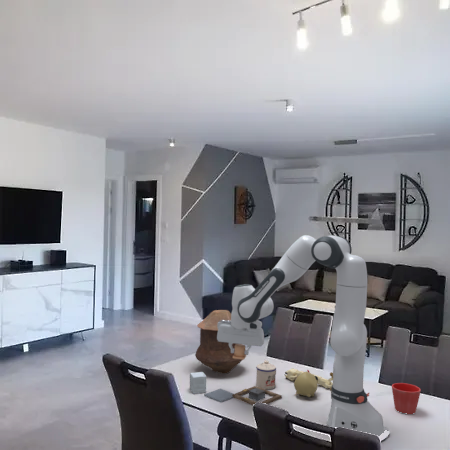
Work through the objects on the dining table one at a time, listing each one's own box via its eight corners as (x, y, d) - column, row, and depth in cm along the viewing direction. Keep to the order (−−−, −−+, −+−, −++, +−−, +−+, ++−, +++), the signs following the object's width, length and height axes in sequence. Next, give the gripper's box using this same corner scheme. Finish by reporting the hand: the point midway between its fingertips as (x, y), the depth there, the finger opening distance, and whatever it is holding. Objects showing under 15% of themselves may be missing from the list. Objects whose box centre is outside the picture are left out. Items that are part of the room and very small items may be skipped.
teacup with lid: (267, 391, 208) (268, 365, 207) (251, 386, 214) (252, 360, 213) (283, 384, 217) (284, 359, 216) (267, 379, 223) (268, 355, 222)
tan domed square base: (244, 359, 198) (244, 348, 198) (232, 358, 199) (233, 346, 199) (246, 355, 203) (247, 344, 203) (235, 354, 204) (236, 343, 204)
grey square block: (265, 397, 200) (265, 390, 200) (257, 401, 197) (258, 393, 196) (256, 394, 204) (256, 387, 204) (248, 397, 200) (248, 390, 200)
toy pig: (321, 393, 207) (322, 369, 207) (312, 402, 197) (313, 377, 196) (300, 389, 212) (301, 365, 212) (290, 397, 202) (291, 372, 201)
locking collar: (281, 398, 200) (281, 394, 200) (259, 407, 189) (259, 404, 189) (254, 388, 211) (254, 385, 211) (232, 397, 200) (232, 393, 200)
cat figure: (338, 389, 216) (289, 373, 231) (340, 371, 216) (291, 356, 230) (329, 396, 208) (280, 379, 222) (331, 376, 208) (281, 361, 222)
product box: (202, 387, 210) (203, 371, 210) (206, 392, 204) (206, 376, 204) (189, 389, 208) (189, 372, 208) (192, 394, 202) (193, 377, 202)
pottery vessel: (230, 383, 217) (231, 318, 216) (184, 372, 229) (186, 311, 229) (254, 368, 239) (256, 309, 238) (212, 359, 252) (213, 303, 251)
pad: (236, 396, 201) (237, 394, 201) (220, 402, 194) (220, 401, 194) (220, 389, 208) (220, 388, 208) (204, 395, 201) (204, 394, 201)
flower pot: (396, 403, 198) (397, 380, 198) (423, 410, 191) (424, 387, 191) (387, 410, 190) (387, 387, 190) (414, 418, 183) (415, 394, 183)
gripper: (215, 320, 200) (214, 352, 200) (263, 326, 195) (261, 358, 195) (219, 317, 206) (218, 348, 206) (265, 322, 201) (263, 354, 201)
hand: (239, 353), depth 201 cm, fingers closed on tan domed square base, 5 cm apart
